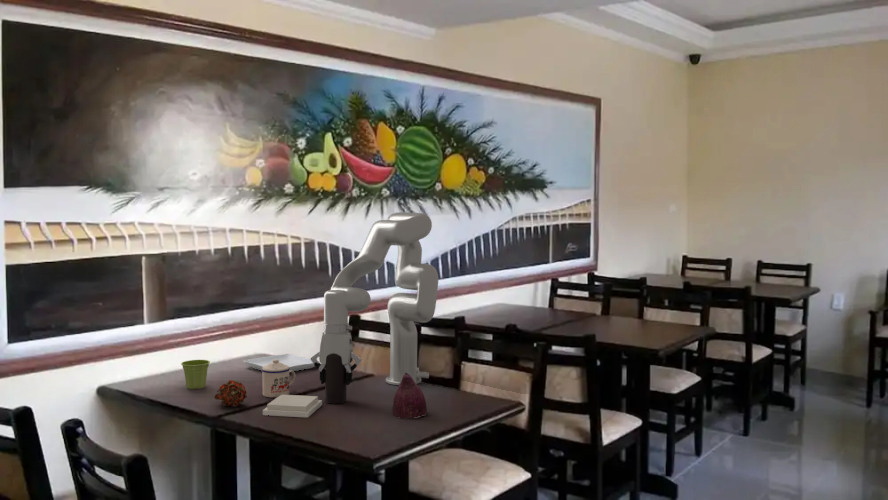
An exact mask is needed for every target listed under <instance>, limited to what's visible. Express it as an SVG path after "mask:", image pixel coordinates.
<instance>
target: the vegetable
mask: <svg viewBox="0 0 888 500" xmlns="http://www.w3.org/2000/svg"><path fill="white" fill-rule="evenodd" d="M392 402H393V403H392V411H391V413H392V416H393V417H396V418H398V417H400V418H399V419H401V418H414V417H418V416H422V415H425V414H426V415H427V414H428V409H427V407H428V406H427V402H426V397H425V395H424V393H423V391H422V390H421V387H420V386H419V385H418V384H416V383H415V382H414V380H413V379H412V377H411V376H410V375H409V374H408V373H406V372H405V374H404V375H403V378H402V381H401V382H400V384H399V385H397V389H396V392H395V394H394V397H393V401H392Z"/></svg>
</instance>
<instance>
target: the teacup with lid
mask: <svg viewBox="0 0 888 500" xmlns="http://www.w3.org/2000/svg"><path fill="white" fill-rule="evenodd" d="M261 372H262V375H261V376H262V395H263V397H267V398H274V399H276V398H277V397H279V396H280V395H290V386H291V385H292V384H294V382H295V380H296V376H297V375H296V372H294V371H292V370H290V368H289V366H288V365H284V364H283V363H280V362H279V360H278V359H274V360H273V362H272V363H270V364H268V365H266V366H264V367H263V368H262V371H261ZM290 373H291V374H292V376H291V380H290Z"/></svg>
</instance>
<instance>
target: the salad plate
mask: <svg viewBox="0 0 888 500" xmlns="http://www.w3.org/2000/svg"><path fill="white" fill-rule="evenodd" d="M274 359H278V360H279V362H280V363H283V364H284V365H288V366H289V368H290V370H292V371H296V372H300V371H299V370H301V371H304V369H306V370H309V369H312V368H314V367H315V365H314V363H313V362H312V361H311V358H307V357H305V356H304V357H303V356H300V355H296V354H292V353H283V354H275V355H268V356H262V357H261V356H260V357H256V358H250V359H249V358H248V359H244V360H243V363H244V364H245V365H246V366H248V367H250V368H253V369H254V370H256V369H258V370H257V371H259V370H261V371H260V372H262V368H263V367H264V366H266V365H268V364H270V363H272V362H273V360H274ZM317 361H318V362H319V363H320V360H317ZM315 368H316V367H315Z"/></svg>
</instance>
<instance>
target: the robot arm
mask: <svg viewBox="0 0 888 500" xmlns="http://www.w3.org/2000/svg"><path fill="white" fill-rule="evenodd" d="M432 227H433V223H432V220H431V217H430V216H429V215H427V214H426V213H424V212H404V211H403V212H402V211H401V212H400V211H399V212H394V213H390V215H388V217H387V219H381V220H377V221H375V222H374V223H373V224H372V225H371V227H370V229H369V231H368V233H367V236H366V238H365V240H364V242H363V245H362V247H361V248H360V251H359V254H358V255H357V256H356V257H355V258H354V259H353V260H352V261H350V262H349V263H348V264H347V265H345V266H344V267H343V268H342V269H341V270H340V271H339V273H338V274H337V275H336V277H335V279H334V281H333V283H332V286H331V287H330V289H329V290H326V291H324V295H323V332H322V333H321V337H320V343H319V344H320V345H319V351H318V352H317V353H316V354H314V355H313V356H312V357H310V359H311V361H312V362H313V363H314V365H315V368H316V369H317V370H318V372H319V381H320V384H321V385H325V364H326V357H327V356H328V355H329V354H332V353H335V354H338V355H340V356H341V358H342V364H343V365H344V366H345V368H346V369H347V373H346V385H347V386H349V385H350V384H351V383H352V382H353V371H354V370H355V369H356V368H357V367H358V366H359V364H361V362H362V358H361V357H359V356H358V355H357V354H356V353H354V352H353V351H354V350H353V349H354V348H353V340H352V334H351V332H350V331H352V330H353V325H350V324H349V322H348V321H349V315H348V314H349V312H362V311H365V310H366V309H367V308H369V306H370V304H371V295H370V293H369V292H368V291H367V290H366V289H363V288H360V287H354V286H353V287H352V285H354V284H355V282H356V281H358V280H359V279H360V278H362V277H363V276H366V275H368V274H371V273H374V272H375V271H376V272H377V271H378V270H379V269H381V267H382V266H383V264H384V262H385V260H386V259H385V258H386V256H387V255H388V252H389V249H390V248H391V246H397V258H396V259H397V260H396V269H395V279H394V280H395V284H396V286H397V287H399V288H400V289H403V290H409V291H417V294H415V293H408V292H397V293H394V294H392V296H390V297H389V299H388V301H387V313H388V318H389V326H390V327H389V329H390V333H389V336H390V337H389V338H390V339H389V340H390V341H389V342H390V347H389V348H390V352H389V354H390V356H389V361H390V363H389V369H390V371H389V376H387V377H385V383H387V384H389V385H392V386H393V385H396V386H399V384H400V382H401V381H402V378H403V375H404V374H405V372H406V373H408V374H409V375H410V376H411V377H412V379H413V380H414V382H415V383H416V384H417V385H418V384H420V383H421V382H422V379H429V377H430V373H429V372H427V371H421V370H420V367H418V330H417V326H416V324H415V322H416V323H428V322H430V321H432V319H433V317H434V314H435V312H436V311H435V310H436V306H437V298H438V290H439V289H438V287H439V274H438V271H437V269H436V267H435V266H433V265H432V264H429V263H422V258H423V249H422V244H421V242H420V240H422V239H424V238H426V237H428V235H429V234H430V232H431V231H432ZM318 359H319V360H318ZM318 361H319V362H318ZM353 361H354V363H353V364H352V363H351V362H353Z"/></svg>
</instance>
